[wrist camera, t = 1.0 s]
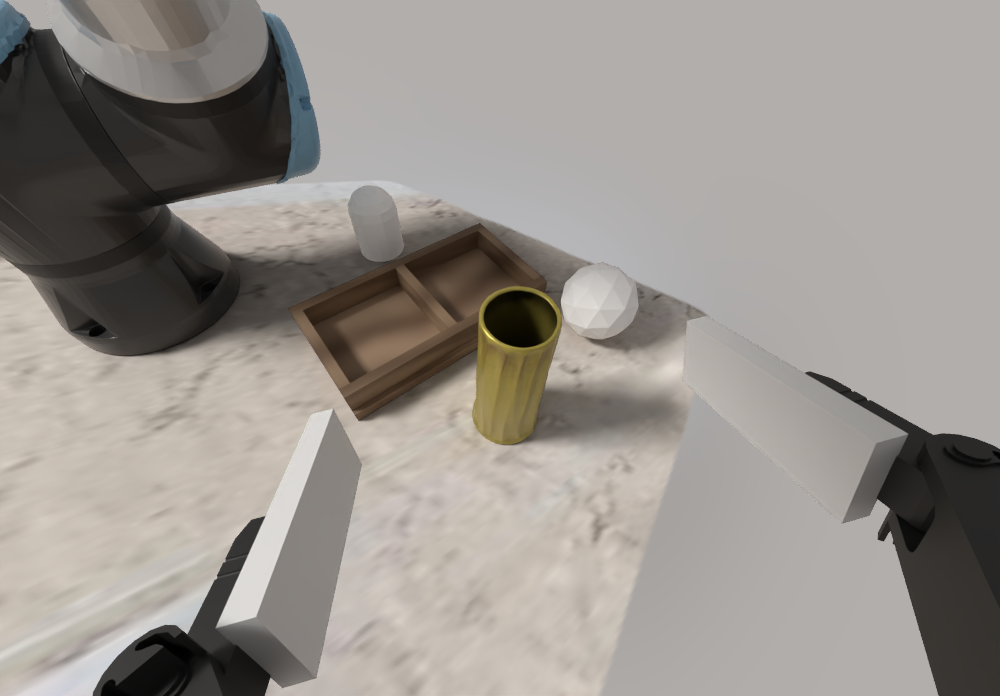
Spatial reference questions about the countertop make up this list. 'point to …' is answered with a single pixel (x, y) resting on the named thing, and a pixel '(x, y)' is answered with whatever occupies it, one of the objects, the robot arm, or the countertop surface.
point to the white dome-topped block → (376, 223)
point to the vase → (513, 361)
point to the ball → (599, 301)
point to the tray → (409, 316)
